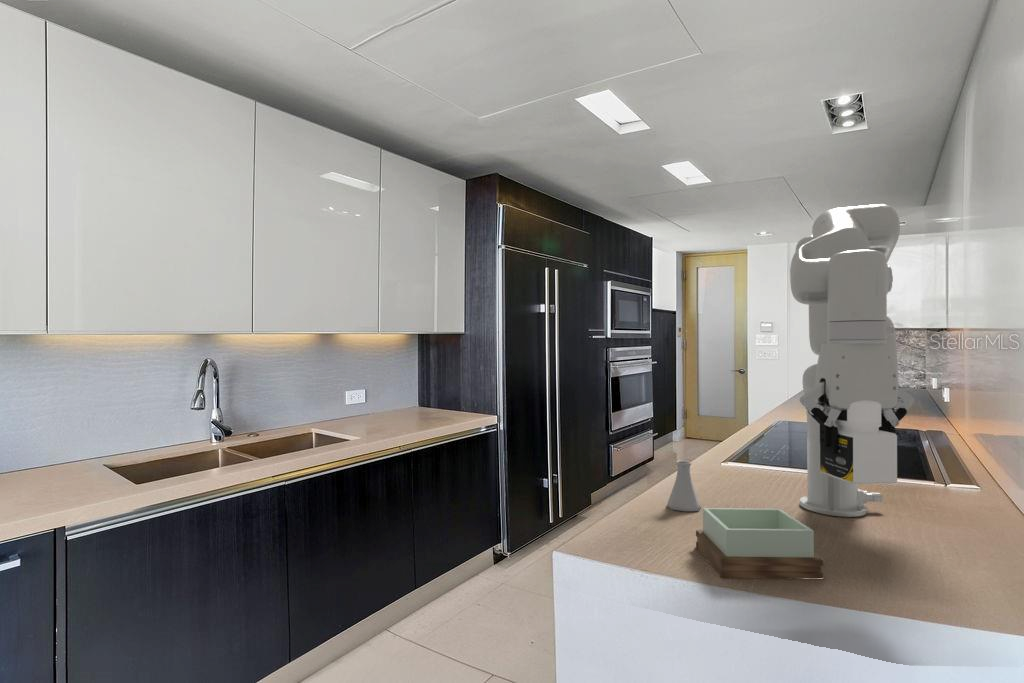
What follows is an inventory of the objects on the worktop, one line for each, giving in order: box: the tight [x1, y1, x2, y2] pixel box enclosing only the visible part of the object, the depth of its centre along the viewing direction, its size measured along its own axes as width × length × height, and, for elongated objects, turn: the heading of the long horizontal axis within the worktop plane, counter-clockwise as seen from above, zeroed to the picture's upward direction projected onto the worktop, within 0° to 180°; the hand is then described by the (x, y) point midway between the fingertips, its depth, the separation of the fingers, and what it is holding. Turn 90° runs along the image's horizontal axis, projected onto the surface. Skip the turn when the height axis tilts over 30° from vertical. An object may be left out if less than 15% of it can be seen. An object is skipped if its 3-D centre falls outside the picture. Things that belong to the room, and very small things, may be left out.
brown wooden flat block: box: [695, 529, 824, 580], centre depth 89 cm, size 15×13×3 cm
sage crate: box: [702, 507, 815, 558], centre depth 89 cm, size 13×11×4 cm
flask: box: [666, 460, 702, 512], centre depth 119 cm, size 7×7×10 cm
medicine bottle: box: [820, 400, 898, 485], centre depth 81 cm, size 7×7×12 cm
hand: (856, 451), depth 81 cm, fingers closed on medicine bottle, 7 cm apart
